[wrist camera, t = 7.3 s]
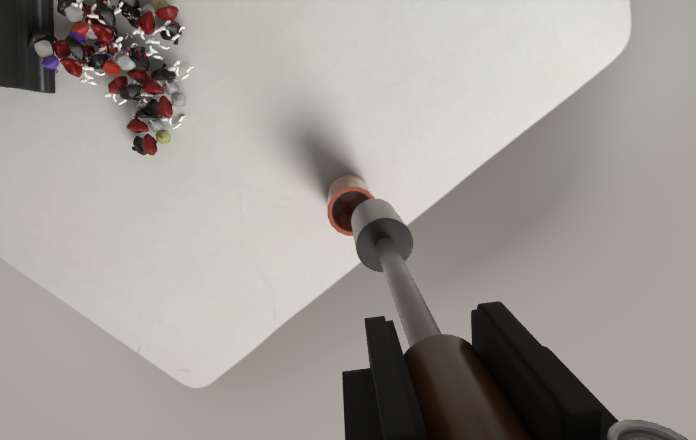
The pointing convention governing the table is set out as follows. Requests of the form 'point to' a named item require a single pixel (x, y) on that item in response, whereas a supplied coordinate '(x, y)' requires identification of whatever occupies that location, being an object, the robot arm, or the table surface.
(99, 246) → the table surface
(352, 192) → the holder
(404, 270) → the brush
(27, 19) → the black stepped block
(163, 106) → the toy collection
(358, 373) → the robot arm
